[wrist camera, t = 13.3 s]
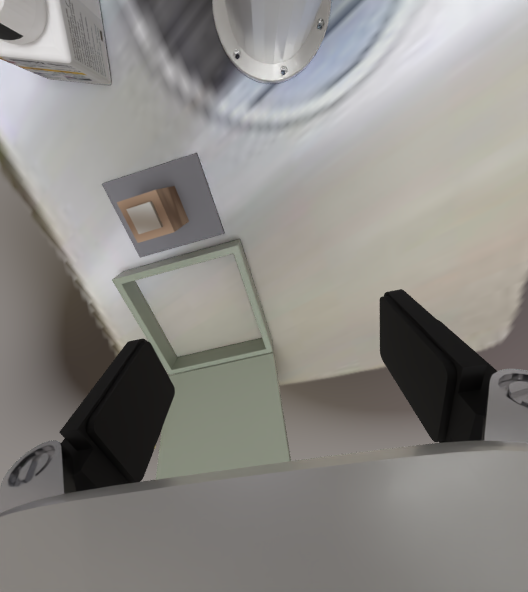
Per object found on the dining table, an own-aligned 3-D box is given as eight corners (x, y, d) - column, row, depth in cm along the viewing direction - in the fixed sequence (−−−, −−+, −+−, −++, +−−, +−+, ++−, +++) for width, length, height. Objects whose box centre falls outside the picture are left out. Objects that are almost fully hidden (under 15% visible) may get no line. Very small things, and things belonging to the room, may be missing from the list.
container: (46, 79, 30) (-89, 23, 18) (24, -15, 26) (-162, -158, 15) (113, 86, 30) (21, 35, 19) (99, -6, 27) (-24, -138, 15)
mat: (103, 183, 35) (101, 183, 35) (196, 153, 33) (196, 153, 33) (141, 256, 40) (140, 257, 40) (224, 233, 38) (224, 233, 38)
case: (116, 273, 41) (5, 353, 23) (239, 239, 39) (221, 299, 21) (186, 393, 54) (149, 505, 36) (282, 373, 51) (294, 482, 33)
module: (142, 196, 35) (113, 203, 29) (174, 185, 35) (153, 190, 28) (158, 230, 38) (135, 244, 31) (189, 221, 37) (172, 233, 30)
